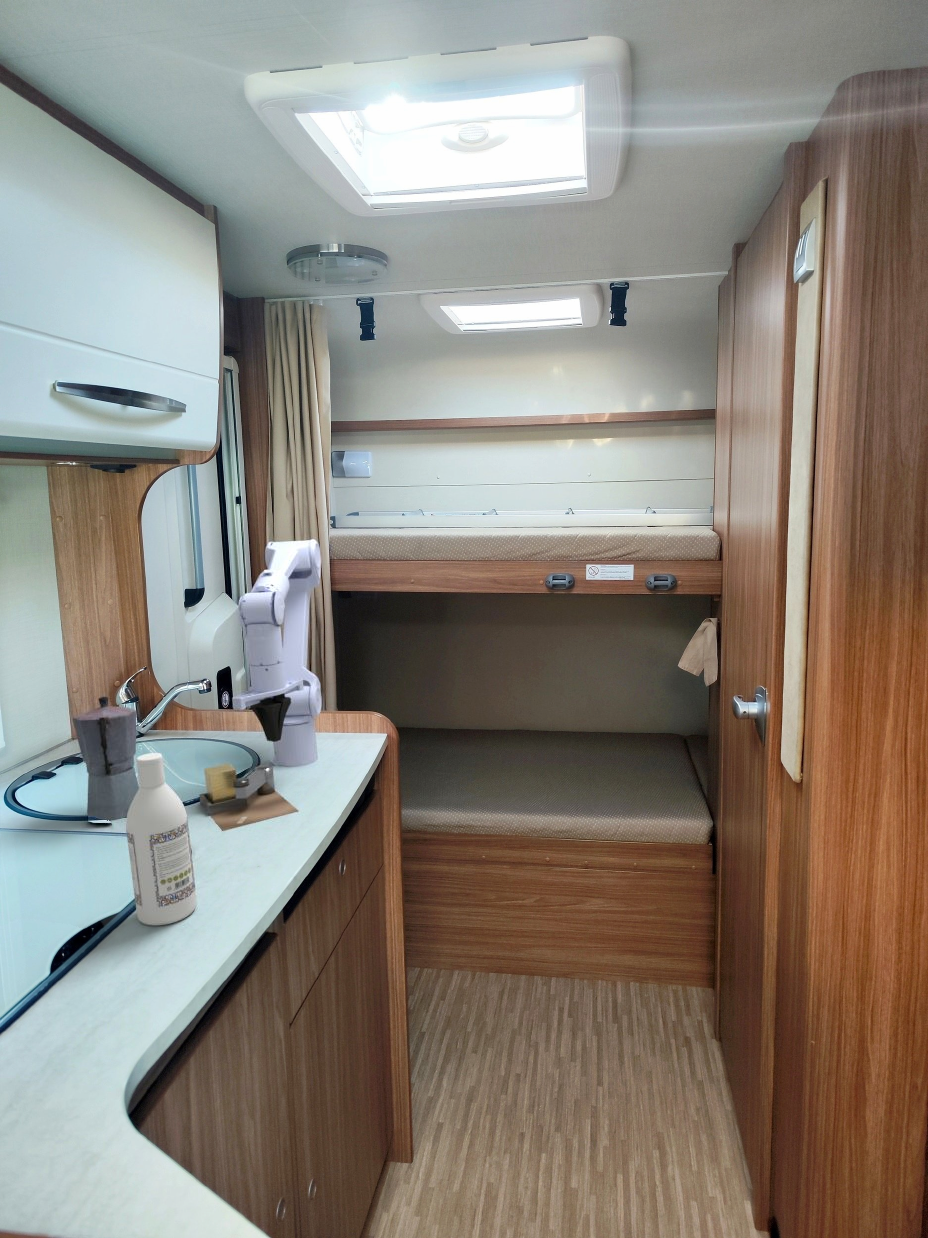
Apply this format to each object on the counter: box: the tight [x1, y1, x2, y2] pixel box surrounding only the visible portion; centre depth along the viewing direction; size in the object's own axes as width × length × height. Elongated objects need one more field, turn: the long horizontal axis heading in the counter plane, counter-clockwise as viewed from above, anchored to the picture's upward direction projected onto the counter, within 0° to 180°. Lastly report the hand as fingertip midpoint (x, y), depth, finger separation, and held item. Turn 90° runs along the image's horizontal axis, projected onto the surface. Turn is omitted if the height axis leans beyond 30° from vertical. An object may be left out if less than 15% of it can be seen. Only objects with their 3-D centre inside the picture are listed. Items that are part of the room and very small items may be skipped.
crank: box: [233, 763, 276, 798], centre depth 130 cm, size 11×3×5 cm, turn 170°
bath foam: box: [125, 752, 198, 926], centre depth 96 cm, size 7×7×20 cm
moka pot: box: [72, 696, 140, 822], centre depth 128 cm, size 10×15×20 cm, turn 26°
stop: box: [204, 763, 237, 804], centre depth 129 cm, size 4×4×6 cm
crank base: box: [199, 790, 299, 832], centre depth 128 cm, size 14×12×3 cm
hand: (273, 740), depth 135 cm, fingers closed
